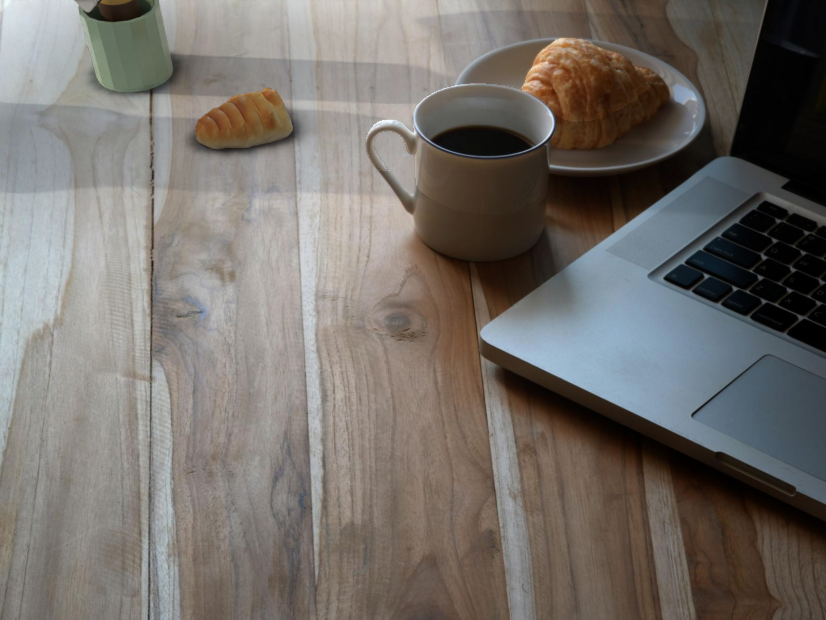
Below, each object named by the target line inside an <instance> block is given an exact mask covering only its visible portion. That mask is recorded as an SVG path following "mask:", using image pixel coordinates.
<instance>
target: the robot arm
mask: <svg viewBox="0 0 826 620" xmlns="http://www.w3.org/2000/svg"><path fill="white" fill-rule="evenodd" d="M73 1H74V2H75V3H76V4H77V5H78V6H80V7H81V8H82V9H83V10H84V11H86V12H90V11H91V10H93V9H94V8H95V7H96V6H98V5H99V3H100V2H101V1H102V0H73Z"/></svg>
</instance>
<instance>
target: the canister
mask: <svg viewBox="0 0 826 620" xmlns="http://www.w3.org/2000/svg"><path fill="white" fill-rule="evenodd" d="M138 1H139V6H140V10H141V15H142V16H141V17H138V18H135V19H132V20H129V21H120V22H106V21H102V18H101V14H100V11H99V7H98V6H96V7H95V8H94V9H93V10H91V11H90V12H86V11H84V10H83V9H82V8H81V7H80V6H79V5H78V7H77V8H78V15H79V19H80V23H81V26H82V31H83V33H84V37H85V41H86V44H87V48H88V51H89V55H90V59H91V62H92V66H93V69H94V73H95V77H96V79H97V81H98V82H99V84H100V85H101V86H103V87H104V88H105V89H108V90H110V91H114V92H119V93H138V92H139V93H140V92H144V91H148V90H151V89H154V88H157V87H158V86H161V85H163V84H165V83H166V82H167V81H168V80H169V79H170V78H171V76H172V75H173V72H174V67H173V61H172V57H171V52H170V46H169V42H168V38H167V37H168V36H167V33H166V28H165V27H166V26H165V22H164V18H163V13H162V8H161V4H160V0H138Z"/></svg>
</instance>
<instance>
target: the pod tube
mask: <svg viewBox="0 0 826 620" xmlns="http://www.w3.org/2000/svg"><path fill="white" fill-rule="evenodd" d="M98 7H99V11H100V14H101V18H102V21H106V22H120V21H129V20H132V19H135V18H138V17H141V16H142V15H141V10H140V6H139V1H138V0H102V1H101V2H100V3H99V5H98Z"/></svg>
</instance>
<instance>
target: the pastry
mask: <svg viewBox="0 0 826 620" xmlns="http://www.w3.org/2000/svg"><path fill="white" fill-rule="evenodd" d="M194 129H195V130H194V133H195V139H196V141H197V142H198V143H199V144H201V145H203V146H205V147H208V148H209V149H213V150H224V149H249V148H252V147H254V146H260V145H265V144H270V143H274V142H276V141H280V140H283V139H285V138H288V137H289V136H290V135H291V133H292V132H293V130H294V127H293V123H292V119H291V117H290V114H289V112H288V110H287V108H286V106H285V102H284V100H283V98H282V97H281V95H280V93H279V92H278V91H277V89H273V88H271V87H267V86H266V87H265V88H263V89H262V90H261V91H253V92H245V93H243V94H235V95H232V96H231V97H230V98H229V99H228V100H227V101H225V102H224V103H221V105H220V106H217V107H214V108H212V109H210V110H209V111H208V112H206V113H205V114H204V115H202V116H201V117H200V118H198V119H197V122H196V124H195V128H194Z"/></svg>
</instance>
